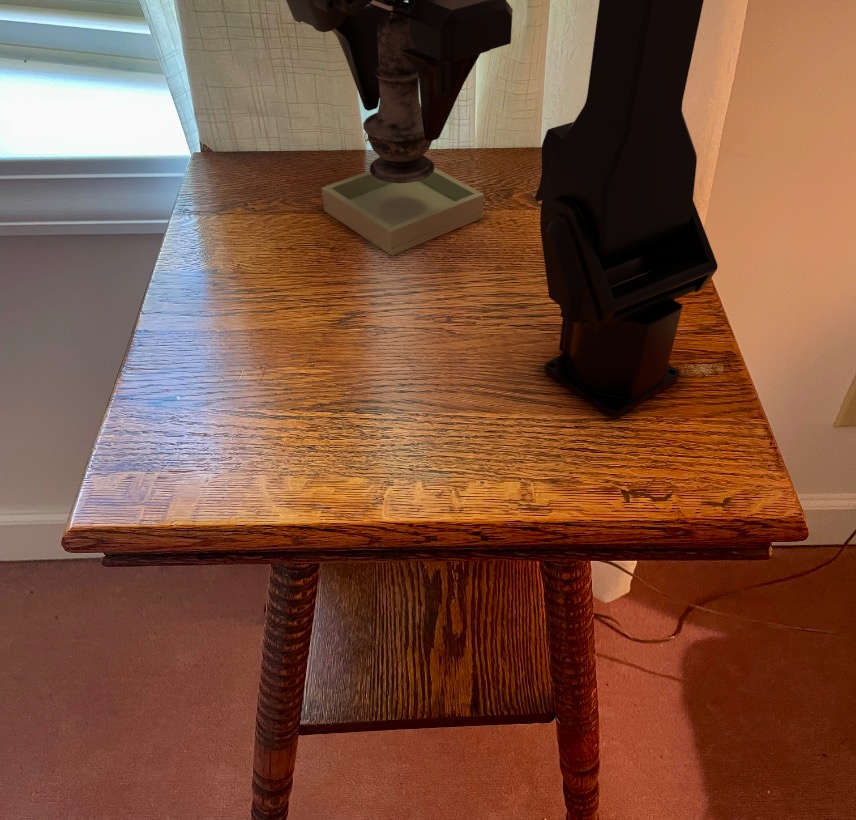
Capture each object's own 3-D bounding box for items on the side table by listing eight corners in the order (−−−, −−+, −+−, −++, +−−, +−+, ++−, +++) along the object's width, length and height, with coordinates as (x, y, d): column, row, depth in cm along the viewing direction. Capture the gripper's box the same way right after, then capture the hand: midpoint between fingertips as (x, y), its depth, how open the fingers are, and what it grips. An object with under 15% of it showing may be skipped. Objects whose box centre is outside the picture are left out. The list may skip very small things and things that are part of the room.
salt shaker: (444, 180, 65) (444, 10, 57) (371, 188, 65) (360, 17, 56) (430, 150, 69) (428, -14, 61) (361, 156, 69) (349, -8, 60)
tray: (483, 217, 69) (484, 193, 68) (391, 256, 65) (390, 231, 64) (412, 178, 75) (412, 155, 73) (323, 211, 71) (321, 187, 69)
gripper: (210, -128, 55) (250, 115, 66) (375, -81, 45) (389, 197, 56) (347, -149, 59) (363, 81, 71) (525, -110, 49) (510, 151, 61)
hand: (400, 123), depth 64 cm, fingers closed on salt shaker, 7 cm apart
